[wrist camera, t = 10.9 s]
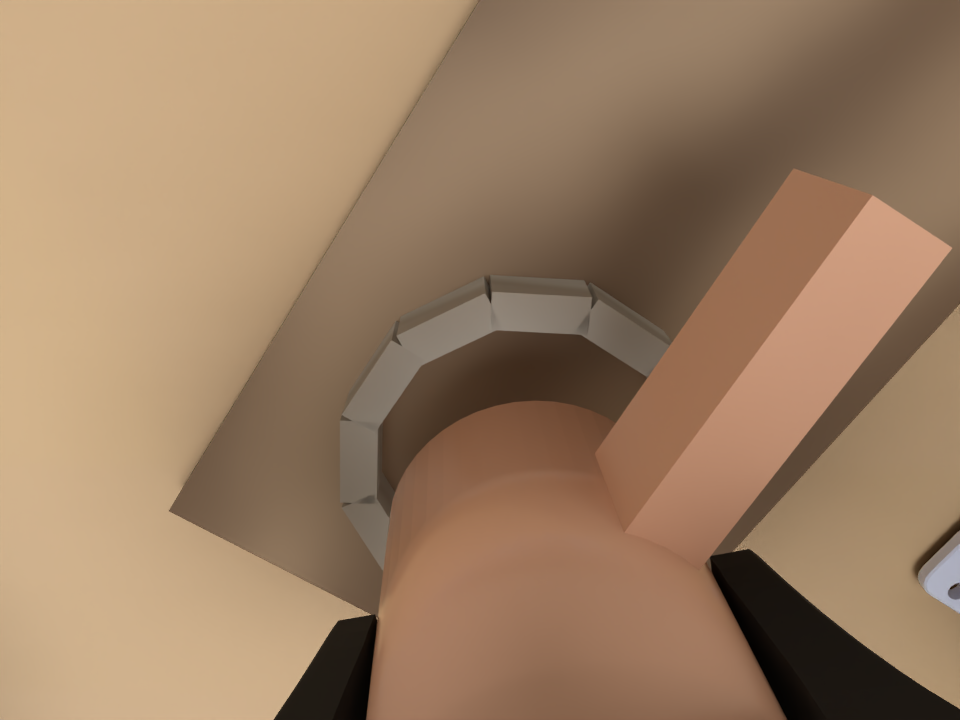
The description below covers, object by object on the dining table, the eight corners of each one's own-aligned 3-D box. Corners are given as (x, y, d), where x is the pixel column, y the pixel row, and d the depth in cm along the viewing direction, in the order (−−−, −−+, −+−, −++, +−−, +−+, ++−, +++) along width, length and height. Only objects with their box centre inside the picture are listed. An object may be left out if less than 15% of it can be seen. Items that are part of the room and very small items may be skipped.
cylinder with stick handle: (572, 681, 16) (647, 1053, 10) (339, 577, 15) (271, 924, 9) (901, 252, 14) (1275, 417, 7) (643, 84, 12) (835, 119, 6)
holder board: (1224, -32, 16) (1334, -42, 14) (573, 691, 23) (584, 756, 21) (768, -474, 14) (823, -564, 12) (182, 489, 20) (150, 540, 18)
